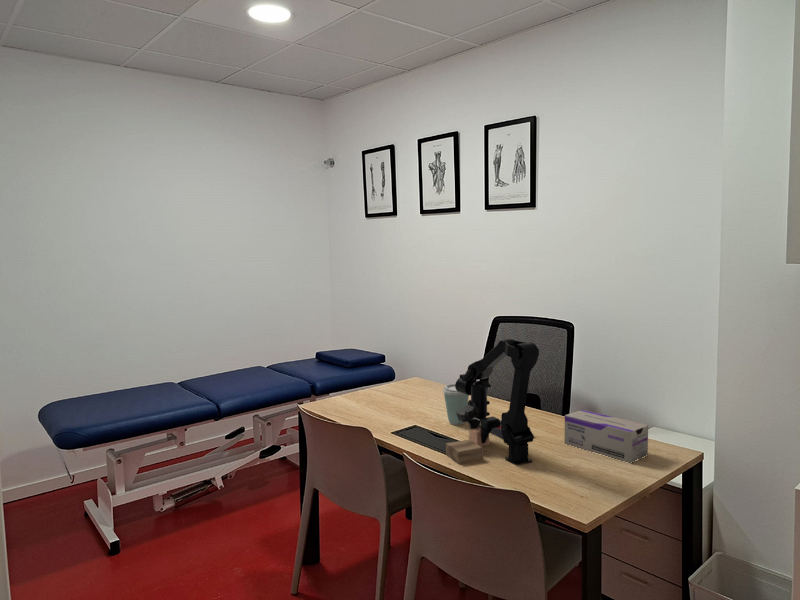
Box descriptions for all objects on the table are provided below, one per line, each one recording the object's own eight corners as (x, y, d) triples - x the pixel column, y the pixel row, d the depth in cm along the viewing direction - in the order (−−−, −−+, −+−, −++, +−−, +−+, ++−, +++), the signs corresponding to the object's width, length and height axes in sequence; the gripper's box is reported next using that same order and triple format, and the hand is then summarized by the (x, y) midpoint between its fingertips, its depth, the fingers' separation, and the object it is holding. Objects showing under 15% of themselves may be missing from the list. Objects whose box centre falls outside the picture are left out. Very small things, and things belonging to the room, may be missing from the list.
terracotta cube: (489, 444, 208) (489, 431, 208) (477, 447, 206) (477, 433, 206) (481, 440, 213) (481, 427, 212) (469, 442, 211) (469, 429, 210)
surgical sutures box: (564, 444, 208) (564, 415, 207) (582, 438, 214) (582, 409, 213) (630, 464, 188) (630, 432, 187) (647, 456, 195) (648, 425, 194)
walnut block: (482, 460, 194) (482, 447, 193) (458, 465, 190) (458, 451, 190) (469, 452, 202) (469, 439, 202) (446, 456, 199) (445, 443, 198)
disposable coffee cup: (474, 421, 236) (474, 384, 235) (463, 428, 227) (463, 390, 226) (450, 417, 242) (450, 381, 240) (438, 424, 233) (438, 387, 231)
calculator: (507, 417, 230) (530, 425, 216) (507, 428, 230) (531, 437, 216) (483, 421, 225) (505, 430, 212) (483, 432, 226) (506, 441, 212)
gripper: (445, 395, 213) (446, 437, 214) (474, 407, 196) (474, 452, 198) (471, 391, 218) (472, 432, 219) (501, 403, 201) (501, 447, 202)
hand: (479, 441), depth 209 cm, fingers closed on terracotta cube, 5 cm apart
